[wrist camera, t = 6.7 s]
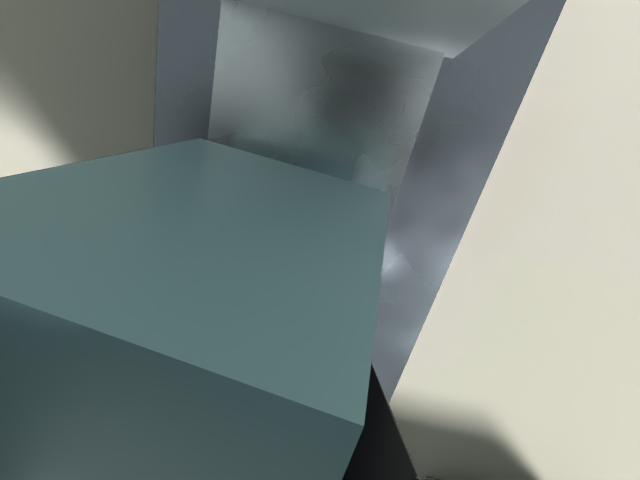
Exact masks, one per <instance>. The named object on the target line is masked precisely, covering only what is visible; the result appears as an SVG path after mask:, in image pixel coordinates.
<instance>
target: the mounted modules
mask: <svg viewBox="0 0 640 480" xmlns="http://www.w3.org/2000/svg"><path fill="white" fill-rule="evenodd" d="M220 1H221V0H220ZM231 1H235V2H239V3H244V4H248V5H252V6H256V7H260V8H264V9H268V10H272V11H277V12H281V13H285V14H289V15H293V16H297V17H301V18H306V19H310V20H314V21H318V22H322V23H326V24H330V25H334V26H339V27H343V28H347V29H351V30H355V31H359V32H363V33H368V34H372V35H376V36H380V37H384V38H388V39H392V40H396V41H401V42H405V43H409V44H413V45H417V46H421V47H425V48H430V49H434V50H438V51H442V52H445V55H444V57H448V58H452V59H453V58H454V57H456V56H457V55H458V54H460V53H461V52H462V51H464V50H465V49H466V48H468V47H469V46H470V45H472V44H473V43H474V42H475V41H477V40H478V39H479V38H481V37H482V36H483V35H485V34H486V33H487V32H489V31H490V30H491V29H493V28H494V27H495V26H496V25H498V24H499V23H500V22H502V21H503V20H504V19H506V18H507V17H508V16H510V15H511V14H512V13H514V12H515V11H516V10H517V9H519V8H520V7H521V6H523V5H524V4H525V3H527V2H528V1H529V0H231Z"/></svg>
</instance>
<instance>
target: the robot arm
mask: <svg viewBox="0 0 640 480" xmlns="http://www.w3.org/2000/svg"><path fill="white" fill-rule="evenodd" d="M342 480H420V479H418V473H417V471H416V468H415V466H414V463H413V461H412V459H411V456H410V454H409V451H408V449H407V447H406V444H405V442H404V439H403V437H402V434H401V432H400V430H399V427H398V425H397V422H396V420H395V418H394V415H393V413H392V410H391V408H390V405H389V403H388V401H387V398H386V396H385V393H384V391H383V389H382V386H381V384H380V381H379V379H378V376H377V374H376V372H375V369H374V367H373V364H372V362H371V370H370V379H369V388H368V396H367V405H366V414H365V423H364V428H363V430H362V432H361V435H360V437H359V440H358V442H357V445H356V447H355V449H354V452H353V454H352V457H351V459H350V461H349V464H348V466H347V469H346V471H345V473H344V476H343V478H342Z"/></svg>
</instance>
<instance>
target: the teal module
mask: <svg viewBox="0 0 640 480" xmlns="http://www.w3.org/2000/svg"><path fill="white" fill-rule="evenodd" d="M390 195H391V193H389V192H386V191H382V190H379V189H375V188H372V187H368V186H365V185H361V184H358V183H354V182H351V181H347V180H344V179H340V178H337V177H333V176H330V175H326V174H323V173H319V172H316V171H312V170H309V169H305V168H302V167H298V166H295V165H291V164H288V163H285V162H281V161H278V160H274V159H271V158H267V157H264V156H260V155H257V154H253V153H250V152H246V151H243V150H239V149H236V148H232V147H229V146H225V145H222V144H218V143H215V142H211V141H208V140H204V139H201V138H199V139H194V140H189V141H184V142H178V143H173V144H168V145H163V146H158V147H153V148H148V149H143V150H138V151H133V152H128V153H123V154H118V155H113V156H107V157H102V158H97V159H92V160H87V161H82V162H77V163H72V164H67V165H62V166H57V167H52V168H47V169H42V170H37V171H31V172H26V173H21V174H16V175H11V176H6V177H1V178H0V480H342V478H343V476H344V473H345V471H346V469H347V466H348V464H349V461H350V459H351V457H352V454H353V452H354V449H355V447H356V445H357V442H358V440H359V437H360V435H361V432H362V430H363V428H364V423H365V414H366V405H367V396H368V388H369V379H370V370H371V361H372V353H373V344H374V335H375V326H376V318H377V309H378V300H379V291H380V283H381V274H382V265H383V256H384V248H385V239H386V230H387V221H388V212H389V204H390Z"/></svg>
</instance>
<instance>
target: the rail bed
mask: <svg viewBox="0 0 640 480" xmlns="http://www.w3.org/2000/svg"><path fill="white" fill-rule="evenodd" d="M565 2H566V0H529V1H528V2H527V3H525V4H524V5H523V6H521V7H520V8H519V9H517V10H516V11H515V12H514V13H512V14H511V15H510V16H508V17H507V18H506V19H504V20H503V21H502V22H500V23H499V24H498V25H496V26H495V27H494V28H493V29H491V30H490V31H489V32H487V33H486V34H485V35H483V36H482V37H481V38H479V39H478V40H477V41H475V42H474V43H473V44H472V45H470V46H469V47H468V48H466V49H465V50H464V51H462V52H461V53H460V54H458V55H457V56H456V57H454V58H453V59H452V58H448V57H444V55H445V52H442V51H438V50H434V49H430V48H425V47H421V46H417V45H413V44H409V43H405V42H401V41H396V40H392V39H388V38H384V37H380V36H376V35H372V34H368V33H363V32H359V31H355V30H351V29H347V28H343V27H339V26H334V25H330V24H326V23H322V22H318V21H314V20H310V19H306V18H301V17H297V16H293V15H289V14H285V13H281V12H277V11H272V10H268V9H264V8H260V7H256V6H252V5H248V4H244V3H239V2H235V1H231V0H221V1H220V0H159V6H158V33H157V59H156V85H155V112H154V138H153V147H158V146H163V145H168V144H173V143H178V142H184V141H189V140H194V139H199V138H201V139H204V140H208V141H211V142H215V143H218V144H222V145H225V146H229V147H232V148H236V149H239V150H243V151H246V152H250V153H253V154H257V155H260V156H264V157H267V158H271V159H274V160H278V161H281V162H285V163H288V164H291V165H295V166H298V167H302V168H305V169H309V170H312V171H316V172H319V173H323V174H326V175H330V176H333V177H337V178H340V179H344V180H347V181H351V182H354V183H358V184H361V185H365V186H368V187H372V188H375V189H379V190H382V191H386V192H389V193H391V195H390V204H389V212H388V221H387V230H386V239H385V248H384V256H383V265H382V274H381V283H380V291H379V300H378V309H377V318H376V326H375V335H374V344H373V353H372V361H371V362H372V364H373V367H374V369H375V372H376V374H377V376H378V379H379V381H380V384H381V386H382V389H383V391H384V393H385V396H386V398H387V401H388V403H389V402H390V399H391V397H392V395H393V392H394V390H395V388H396V386H397V383H398V381H399V379H400V377H401V374H402V372H403V370H404V367H405V365H406V363H407V361H408V358H409V356H410V354H411V352H412V349H413V347H414V345H415V342H416V340H417V338H418V336H419V333H420V331H421V329H422V327H423V324H424V322H425V320H426V318H427V315H428V313H429V311H430V308H431V306H432V304H433V302H434V299H435V297H436V295H437V293H438V290H439V288H440V286H441V283H442V281H443V279H444V277H445V274H446V272H447V270H448V268H449V265H450V263H451V261H452V258H453V256H454V254H455V252H456V249H457V247H458V245H459V243H460V240H461V238H462V236H463V234H464V231H465V229H466V227H467V224H468V222H469V220H470V218H471V215H472V213H473V211H474V209H475V206H476V204H477V202H478V199H479V197H480V195H481V193H482V190H483V188H484V186H485V184H486V181H487V179H488V177H489V174H490V172H491V170H492V168H493V165H494V163H495V161H496V159H497V156H498V154H499V152H500V150H501V147H502V145H503V143H504V140H505V138H506V136H507V134H508V131H509V129H510V127H511V125H512V122H513V120H514V118H515V115H516V113H517V111H518V109H519V106H520V104H521V102H522V100H523V97H524V95H525V93H526V90H527V88H528V86H529V84H530V81H531V79H532V77H533V75H534V72H535V70H536V68H537V66H538V63H539V61H540V59H541V56H542V54H543V52H544V50H545V47H546V45H547V43H548V41H549V38H550V36H551V34H552V31H553V29H554V27H555V25H556V22H557V20H558V18H559V16H560V13H561V11H562V9H563V6H564V4H565Z"/></svg>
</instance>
